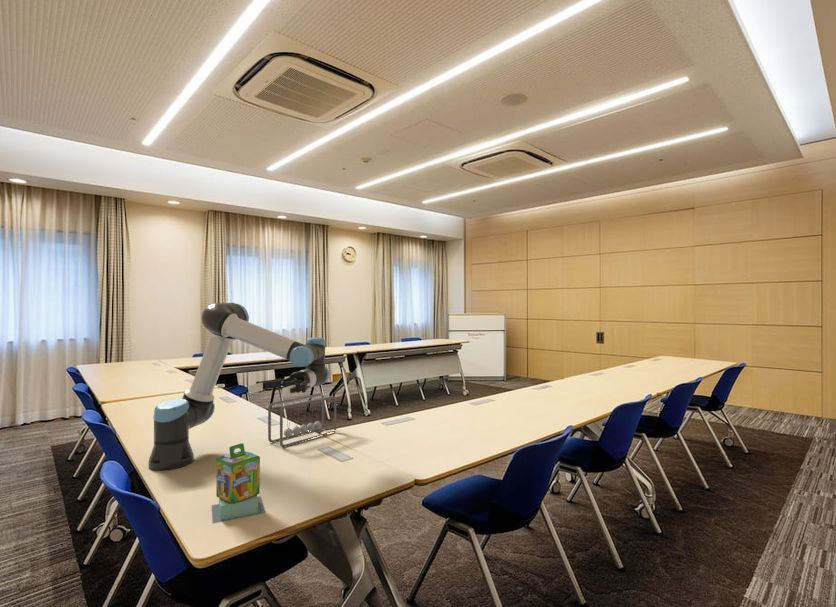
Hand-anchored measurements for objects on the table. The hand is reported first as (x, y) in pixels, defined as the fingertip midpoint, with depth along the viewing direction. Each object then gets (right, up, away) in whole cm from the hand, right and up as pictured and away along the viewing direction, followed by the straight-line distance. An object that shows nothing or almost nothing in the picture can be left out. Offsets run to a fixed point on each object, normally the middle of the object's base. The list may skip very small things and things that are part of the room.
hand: (265, 391), depth 147 cm
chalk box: (-2, -28, -17) cm, 33 cm away
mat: (-2, -32, -17) cm, 36 cm away
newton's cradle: (-1, -32, +53) cm, 62 cm away
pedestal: (-2, -31, -17) cm, 36 cm away
